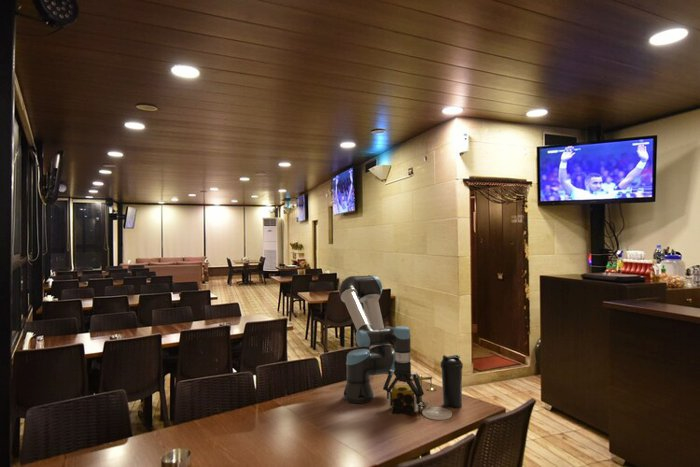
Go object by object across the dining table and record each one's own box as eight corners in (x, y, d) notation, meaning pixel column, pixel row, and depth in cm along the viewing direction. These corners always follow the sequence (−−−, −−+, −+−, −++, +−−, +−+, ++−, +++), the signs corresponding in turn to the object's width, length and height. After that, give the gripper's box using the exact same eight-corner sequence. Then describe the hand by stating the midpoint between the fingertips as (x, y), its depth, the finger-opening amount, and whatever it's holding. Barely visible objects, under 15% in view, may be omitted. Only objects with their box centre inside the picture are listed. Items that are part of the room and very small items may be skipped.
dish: (418, 416, 184) (418, 413, 184) (428, 407, 195) (428, 404, 195) (446, 422, 177) (446, 419, 177) (455, 412, 188) (455, 409, 188)
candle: (414, 407, 195) (414, 385, 196) (414, 415, 185) (414, 392, 186) (392, 406, 197) (392, 384, 197) (391, 414, 187) (391, 391, 187)
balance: (402, 403, 200) (402, 374, 201) (406, 399, 205) (406, 371, 205) (434, 409, 192) (434, 378, 193) (438, 405, 196) (437, 376, 197)
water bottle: (466, 409, 192) (464, 358, 193) (443, 409, 192) (442, 358, 193) (460, 401, 202) (459, 353, 203) (439, 401, 202) (438, 353, 203)
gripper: (375, 359, 195) (376, 406, 194) (424, 366, 183) (425, 416, 182) (382, 356, 201) (383, 401, 200) (430, 362, 189) (431, 410, 188)
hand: (403, 408), depth 191 cm, fingers closed on candle, 12 cm apart
